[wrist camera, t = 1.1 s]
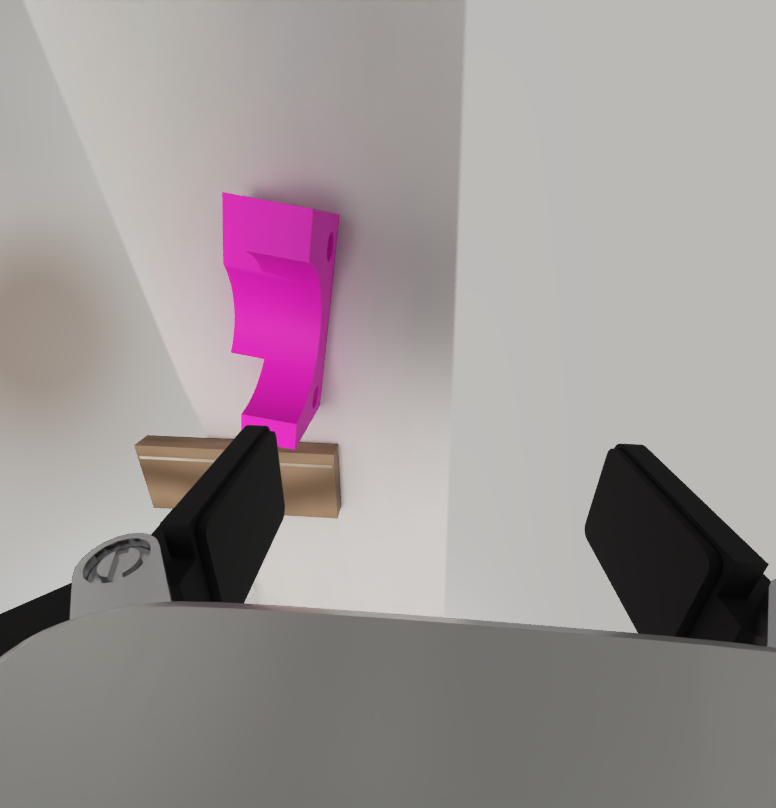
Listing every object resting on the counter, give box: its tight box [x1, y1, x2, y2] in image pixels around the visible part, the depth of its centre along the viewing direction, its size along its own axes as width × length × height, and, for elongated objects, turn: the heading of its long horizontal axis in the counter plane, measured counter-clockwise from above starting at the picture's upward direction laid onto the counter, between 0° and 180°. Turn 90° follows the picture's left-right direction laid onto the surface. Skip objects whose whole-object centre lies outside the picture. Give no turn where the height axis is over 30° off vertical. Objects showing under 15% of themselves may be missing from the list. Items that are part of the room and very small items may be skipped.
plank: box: [134, 435, 341, 518], centre depth 35 cm, size 7×18×2 cm, turn 90°
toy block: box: [222, 192, 339, 450], centre depth 26 cm, size 15×6×8 cm, turn 170°
